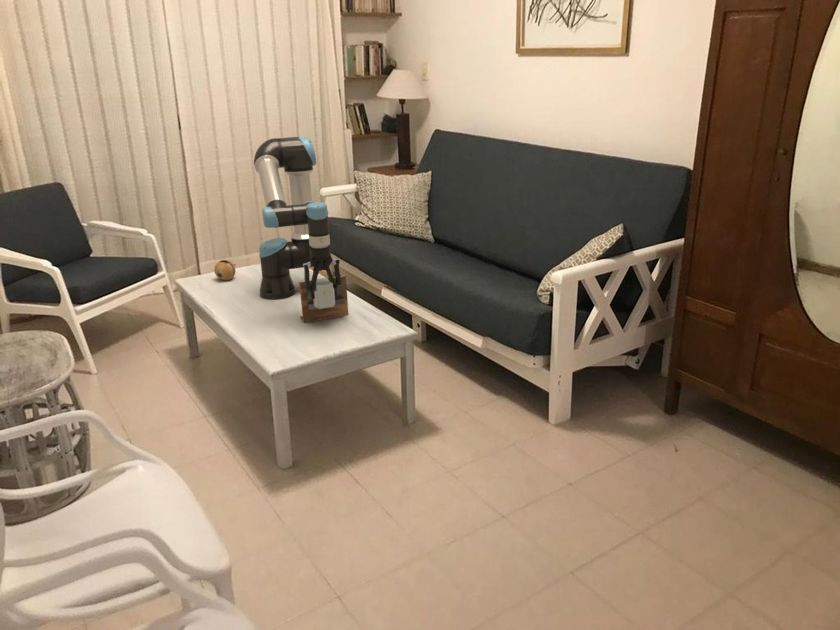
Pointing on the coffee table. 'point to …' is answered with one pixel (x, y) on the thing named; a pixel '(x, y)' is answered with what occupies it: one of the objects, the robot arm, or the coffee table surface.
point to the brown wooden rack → (315, 314)
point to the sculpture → (225, 270)
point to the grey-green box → (324, 293)
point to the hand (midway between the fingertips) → (324, 304)
